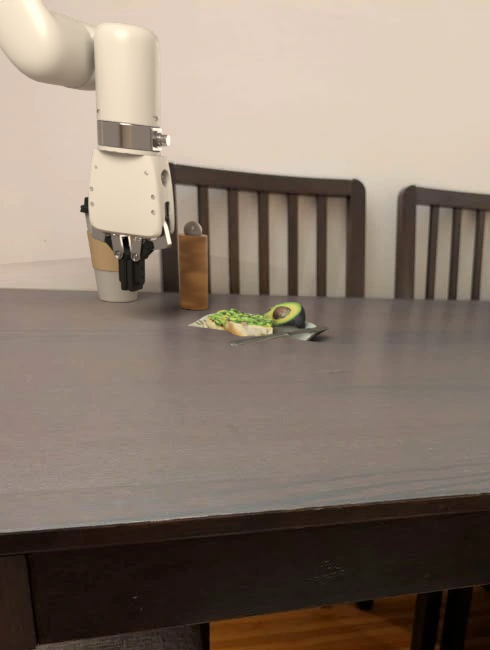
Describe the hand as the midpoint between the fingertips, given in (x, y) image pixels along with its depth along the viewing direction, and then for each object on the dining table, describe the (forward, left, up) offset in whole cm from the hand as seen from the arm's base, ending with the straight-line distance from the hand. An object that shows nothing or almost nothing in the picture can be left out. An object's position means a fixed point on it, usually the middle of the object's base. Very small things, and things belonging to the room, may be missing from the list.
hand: (132, 289), depth 98 cm
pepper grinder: (+1, +17, -5) cm, 18 cm away
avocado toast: (+17, +2, -5) cm, 18 cm away
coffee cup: (-11, +17, -5) cm, 21 cm away
